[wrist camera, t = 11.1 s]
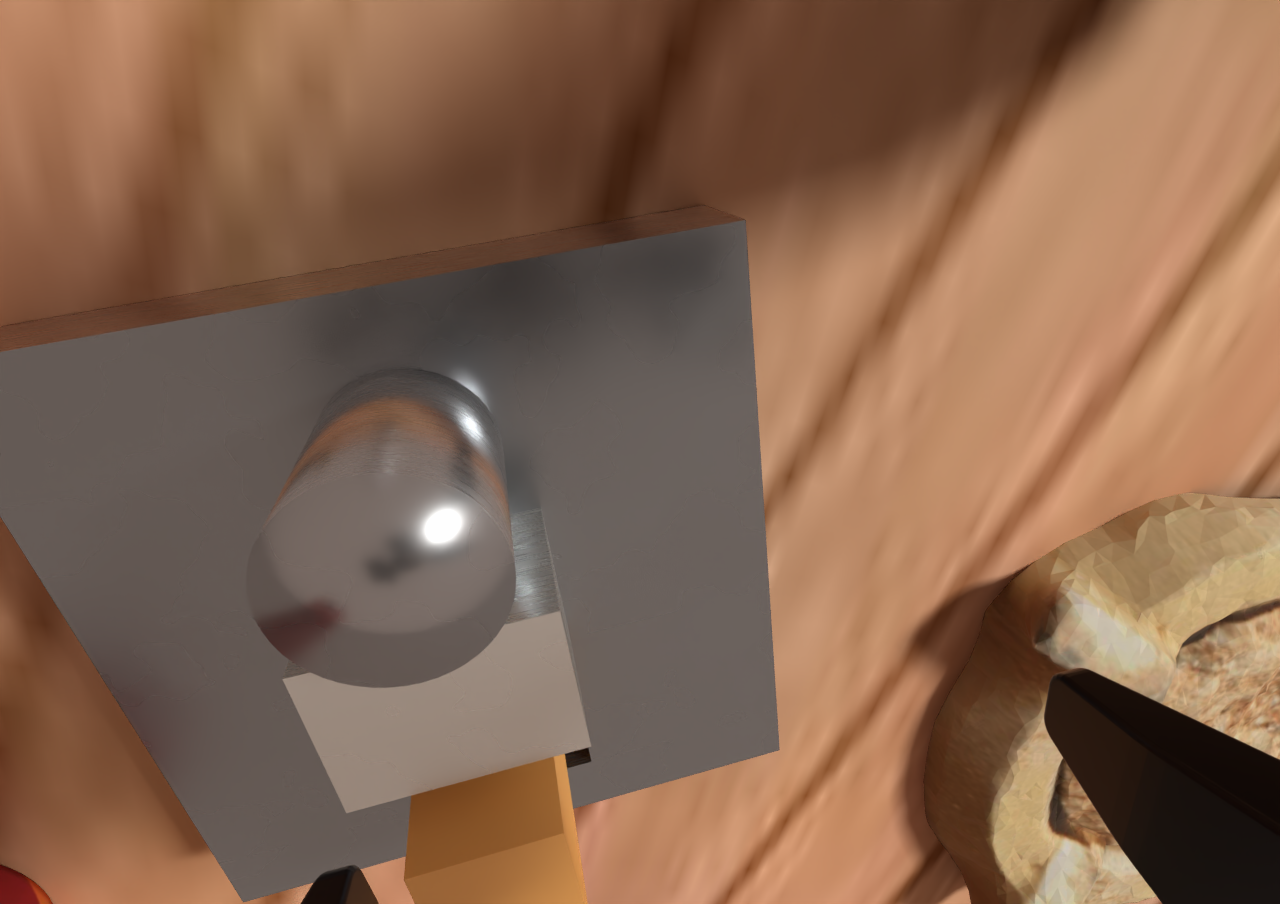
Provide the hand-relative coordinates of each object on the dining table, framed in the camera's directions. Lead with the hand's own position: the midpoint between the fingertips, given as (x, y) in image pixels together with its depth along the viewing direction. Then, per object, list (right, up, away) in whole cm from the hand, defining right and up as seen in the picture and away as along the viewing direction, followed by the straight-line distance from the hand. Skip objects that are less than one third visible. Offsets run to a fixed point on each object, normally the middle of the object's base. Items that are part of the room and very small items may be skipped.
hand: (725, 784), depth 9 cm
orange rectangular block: (-6, -2, +13) cm, 14 cm away
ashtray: (+21, -6, +22) cm, 31 cm away
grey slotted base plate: (-6, +2, +11) cm, 13 cm away
